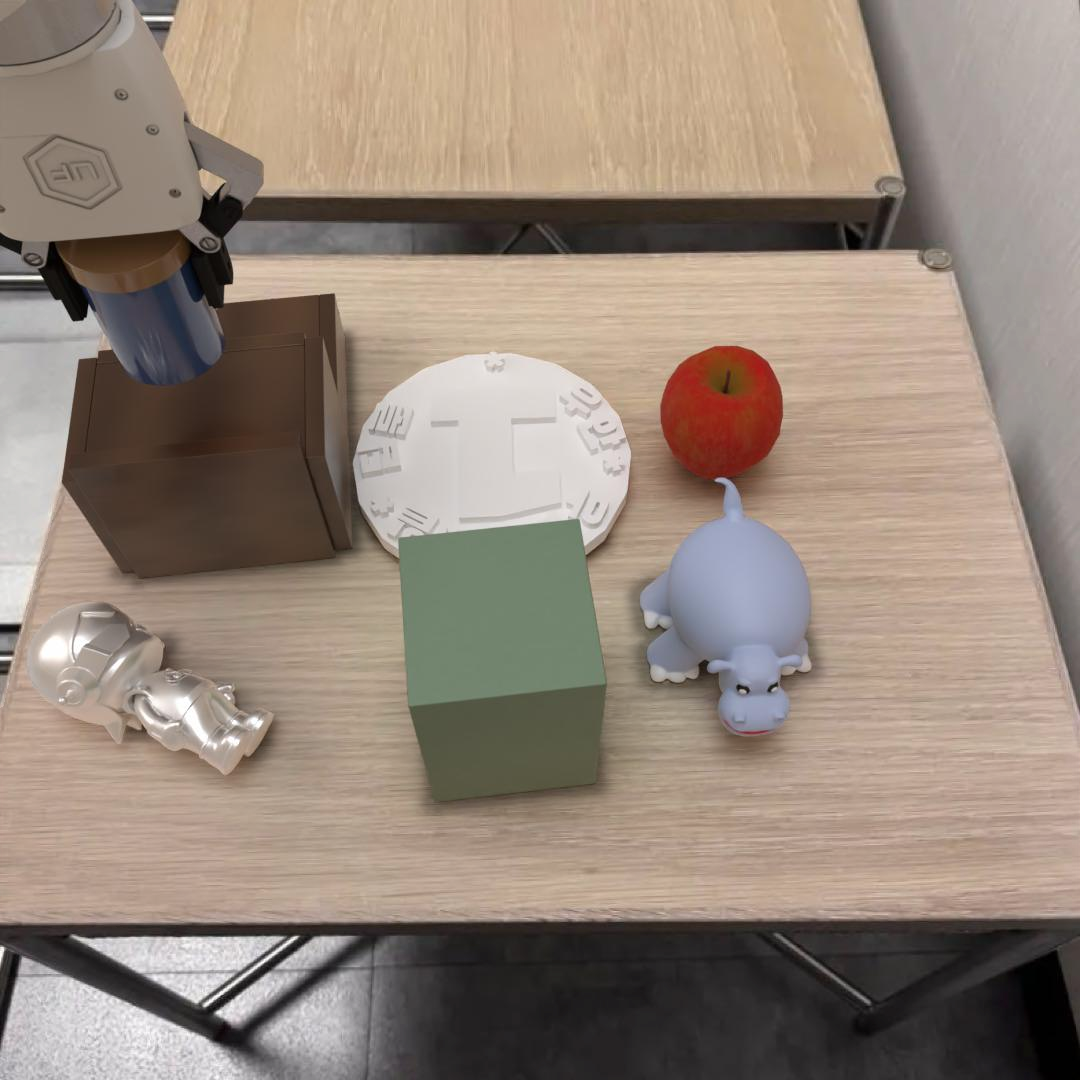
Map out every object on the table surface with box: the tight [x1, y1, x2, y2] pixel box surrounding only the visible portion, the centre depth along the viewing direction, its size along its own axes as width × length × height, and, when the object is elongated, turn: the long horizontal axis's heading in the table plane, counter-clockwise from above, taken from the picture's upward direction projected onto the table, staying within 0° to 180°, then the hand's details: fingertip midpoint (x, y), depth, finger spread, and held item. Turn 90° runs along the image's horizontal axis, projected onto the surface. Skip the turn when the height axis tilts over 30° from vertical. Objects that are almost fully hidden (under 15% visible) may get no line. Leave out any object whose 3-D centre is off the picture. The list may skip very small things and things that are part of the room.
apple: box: [659, 345, 784, 481], centre depth 75 cm, size 9×8×11 cm
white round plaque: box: [352, 350, 632, 559], centre depth 77 cm, size 20×20×3 cm
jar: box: [55, 229, 226, 386], centre depth 60 cm, size 7×7×9 cm
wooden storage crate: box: [61, 292, 353, 579], centre depth 75 cm, size 16×21×13 cm
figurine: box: [26, 600, 275, 776], centre depth 66 cm, size 11×7×15 cm
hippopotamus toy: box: [639, 478, 812, 737], centre depth 67 cm, size 11×15×10 cm
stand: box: [398, 519, 608, 803], centre depth 62 cm, size 10×10×15 cm
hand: (150, 294), depth 60 cm, fingers closed on jar, 6 cm apart
